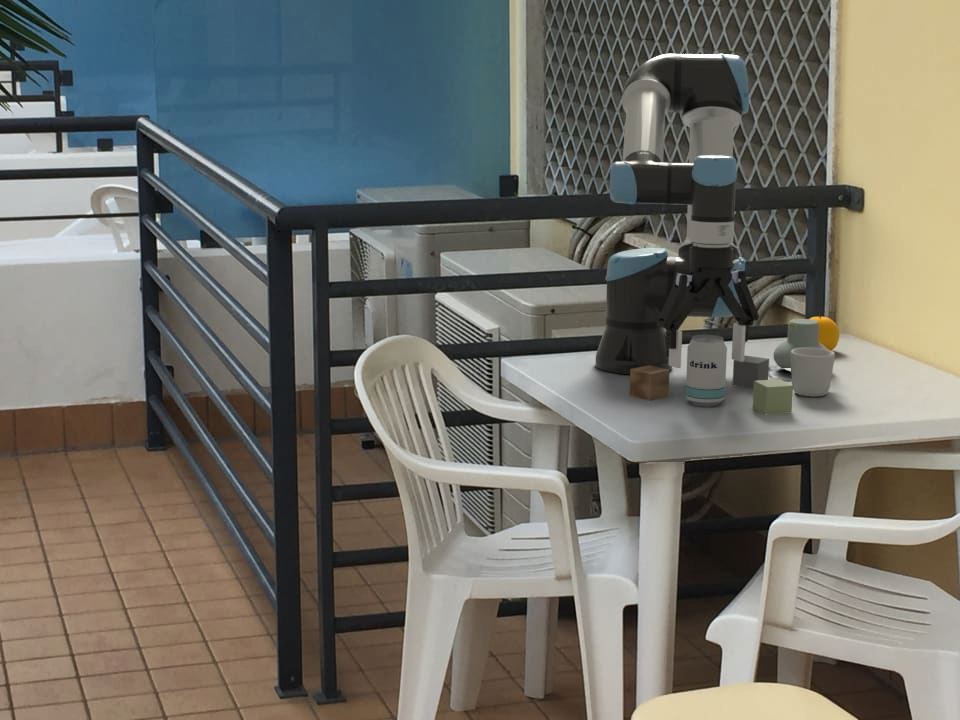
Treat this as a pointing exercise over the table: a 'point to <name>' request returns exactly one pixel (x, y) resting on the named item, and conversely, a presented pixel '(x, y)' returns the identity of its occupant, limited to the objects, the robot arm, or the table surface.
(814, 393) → the cup
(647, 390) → the walnut block
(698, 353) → the beverage can
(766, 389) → the olive block
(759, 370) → the charcoal block
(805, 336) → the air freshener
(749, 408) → the table surface
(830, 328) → the orange
